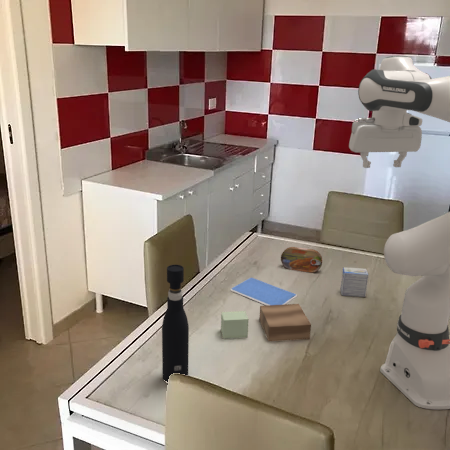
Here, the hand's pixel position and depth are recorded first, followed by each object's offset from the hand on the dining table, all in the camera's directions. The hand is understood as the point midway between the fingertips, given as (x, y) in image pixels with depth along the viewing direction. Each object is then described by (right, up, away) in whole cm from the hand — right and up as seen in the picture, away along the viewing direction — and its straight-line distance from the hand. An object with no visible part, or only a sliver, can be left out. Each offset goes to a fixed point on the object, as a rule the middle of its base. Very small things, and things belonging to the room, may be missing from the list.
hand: (381, 167), depth 146 cm
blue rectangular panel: (-32, -40, +26) cm, 57 cm away
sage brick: (-42, -48, +2) cm, 63 cm away
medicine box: (-1, -40, +27) cm, 48 cm away
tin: (-16, -33, +44) cm, 57 cm away
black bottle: (-57, -54, -18) cm, 81 cm away
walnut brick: (-27, -47, +5) cm, 55 cm away
